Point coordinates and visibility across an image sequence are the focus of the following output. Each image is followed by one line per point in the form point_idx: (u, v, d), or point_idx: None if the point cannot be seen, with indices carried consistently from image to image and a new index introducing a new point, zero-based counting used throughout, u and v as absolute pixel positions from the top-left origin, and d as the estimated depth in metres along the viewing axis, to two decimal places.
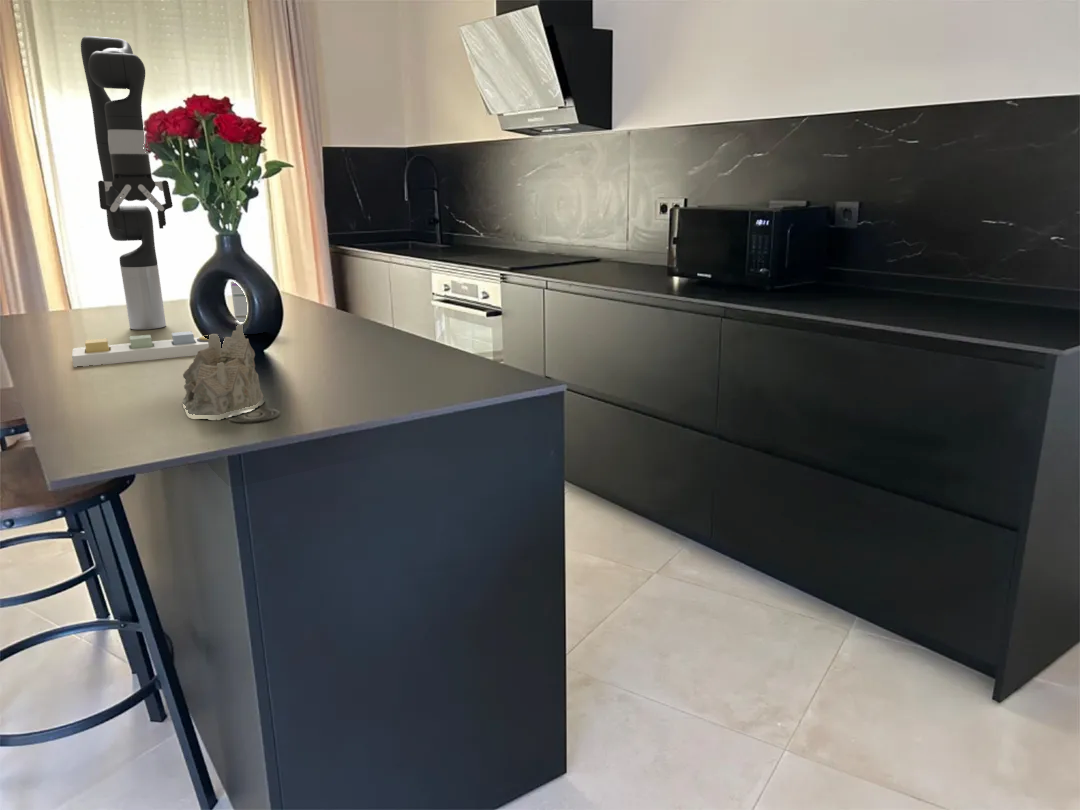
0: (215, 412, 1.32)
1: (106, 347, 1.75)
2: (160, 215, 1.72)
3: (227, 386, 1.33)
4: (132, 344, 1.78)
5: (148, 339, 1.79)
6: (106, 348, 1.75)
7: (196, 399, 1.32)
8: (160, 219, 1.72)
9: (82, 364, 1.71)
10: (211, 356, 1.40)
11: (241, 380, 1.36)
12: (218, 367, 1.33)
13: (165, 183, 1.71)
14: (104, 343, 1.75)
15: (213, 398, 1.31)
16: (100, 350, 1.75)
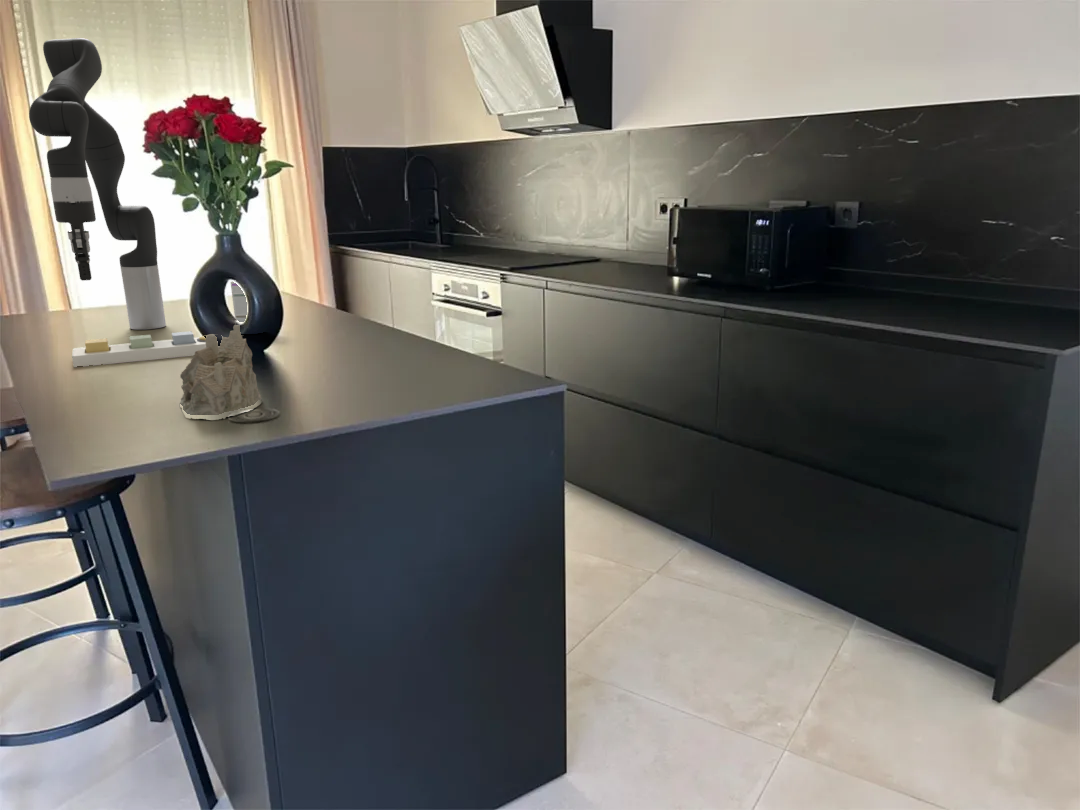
0: (213, 412, 1.32)
1: (106, 347, 1.75)
2: (89, 266, 1.72)
3: (225, 386, 1.33)
4: (132, 344, 1.78)
5: (148, 339, 1.79)
6: (106, 348, 1.75)
7: (194, 399, 1.31)
8: None
9: (82, 364, 1.71)
10: (209, 356, 1.40)
11: (239, 380, 1.36)
12: (215, 367, 1.32)
13: None
14: (104, 343, 1.75)
15: (211, 398, 1.31)
16: (100, 350, 1.75)
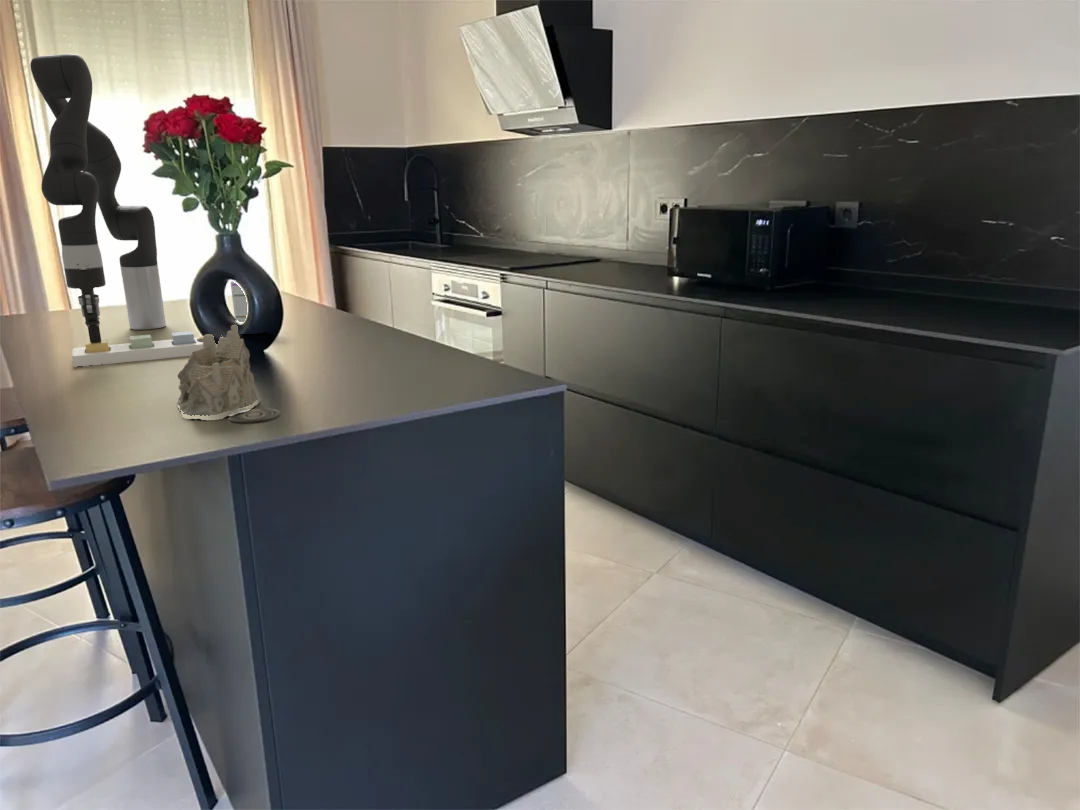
0: (211, 413, 1.32)
1: (106, 348, 1.75)
2: (99, 329, 1.76)
3: (223, 386, 1.33)
4: (132, 344, 1.78)
5: (148, 339, 1.79)
6: (106, 349, 1.75)
7: (191, 399, 1.31)
8: None
9: (82, 364, 1.71)
10: (206, 356, 1.40)
11: (236, 380, 1.36)
12: (213, 367, 1.32)
13: None
14: (104, 344, 1.75)
15: (209, 398, 1.31)
16: (100, 351, 1.75)
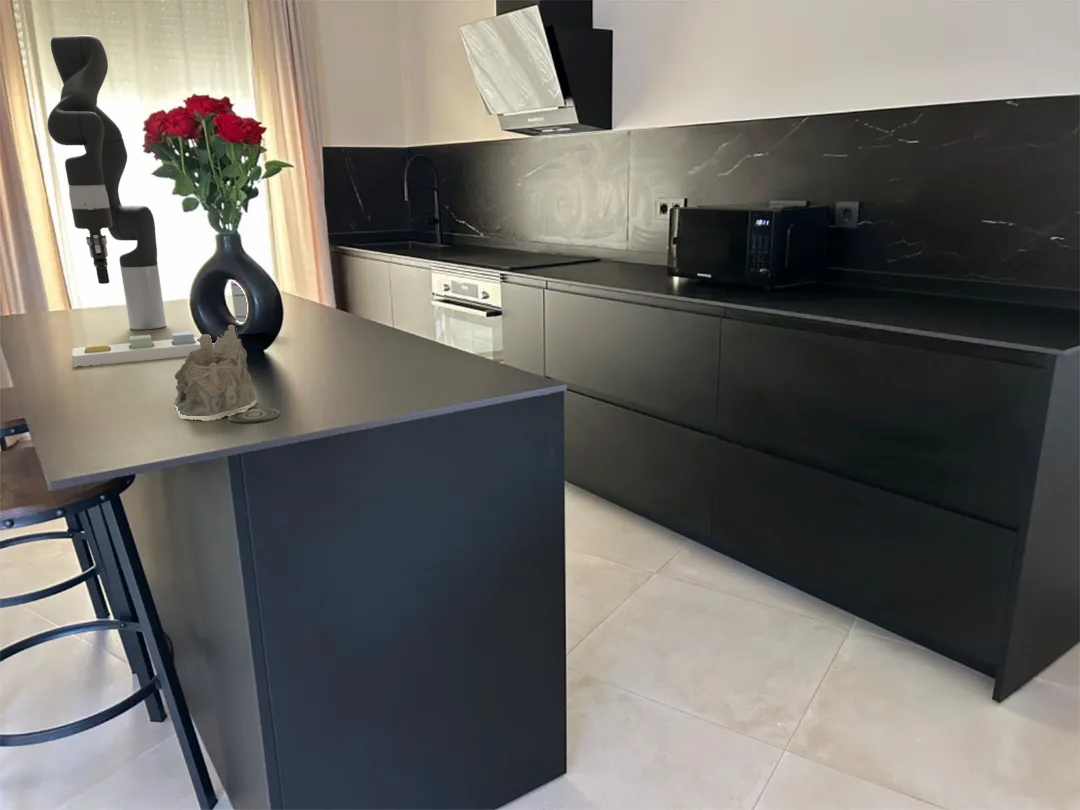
0: (208, 413, 1.32)
1: None
2: None
3: (220, 387, 1.33)
4: (132, 344, 1.78)
5: (148, 339, 1.79)
6: None
7: (188, 400, 1.31)
8: None
9: (82, 364, 1.71)
10: (203, 356, 1.40)
11: (234, 380, 1.36)
12: (210, 368, 1.32)
13: None
14: (105, 347, 1.75)
15: (206, 398, 1.31)
16: None
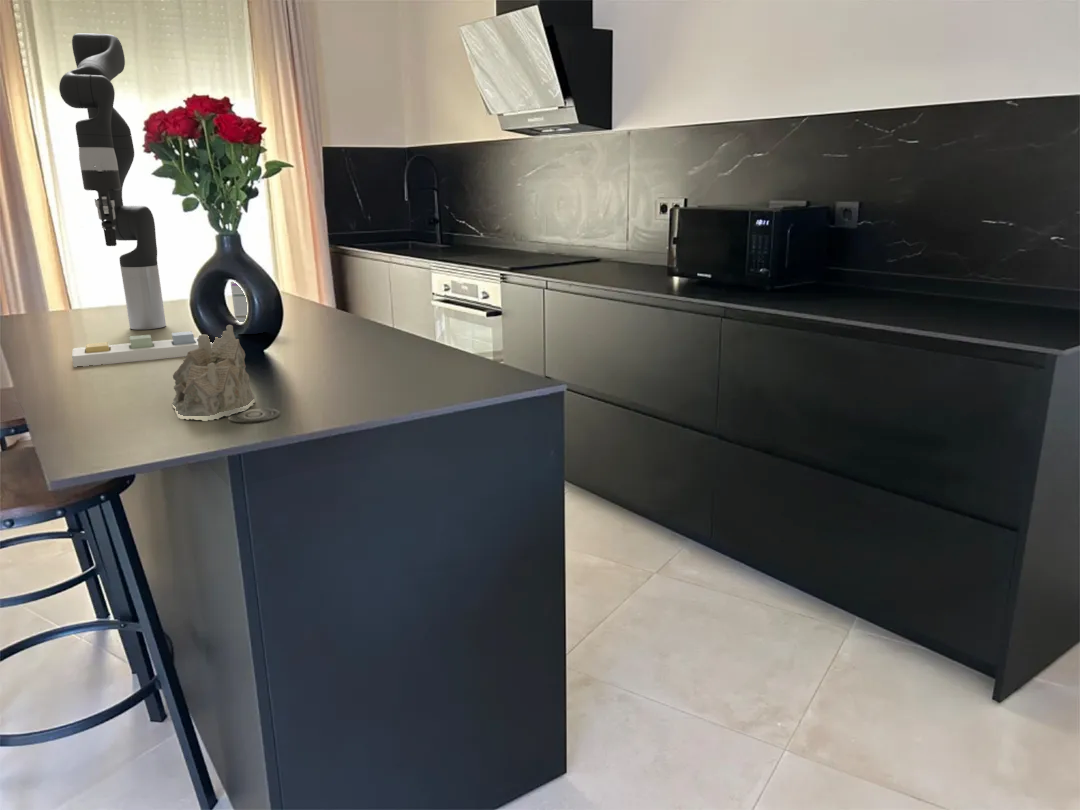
0: (206, 413, 1.32)
1: None
2: None
3: (218, 386, 1.33)
4: (132, 344, 1.78)
5: (148, 339, 1.79)
6: None
7: (187, 400, 1.31)
8: None
9: (82, 364, 1.71)
10: (202, 356, 1.40)
11: (232, 380, 1.36)
12: (209, 368, 1.32)
13: None
14: (105, 347, 1.75)
15: (204, 398, 1.31)
16: None
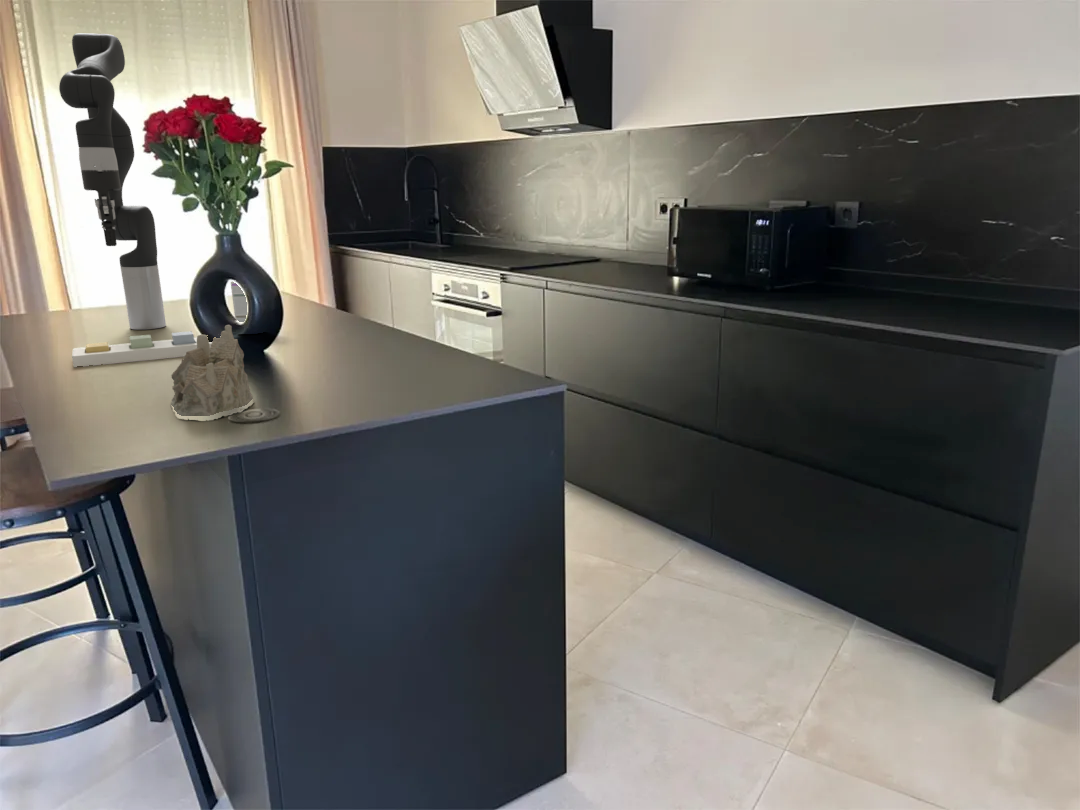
0: (205, 413, 1.32)
1: None
2: None
3: (217, 387, 1.33)
4: (132, 344, 1.78)
5: (148, 339, 1.79)
6: None
7: (185, 400, 1.31)
8: None
9: (82, 364, 1.71)
10: (200, 357, 1.40)
11: (231, 380, 1.36)
12: (207, 368, 1.32)
13: None
14: (105, 347, 1.75)
15: (203, 398, 1.31)
16: None
